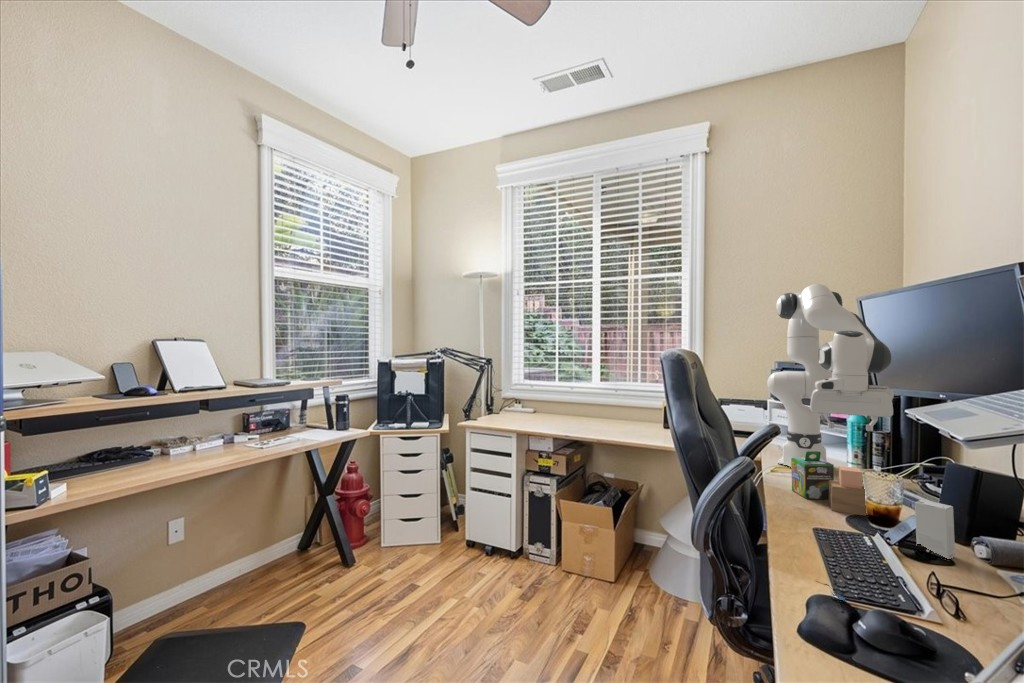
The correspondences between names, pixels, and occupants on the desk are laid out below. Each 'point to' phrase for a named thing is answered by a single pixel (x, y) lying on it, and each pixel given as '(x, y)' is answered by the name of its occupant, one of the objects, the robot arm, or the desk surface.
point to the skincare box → (935, 527)
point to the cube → (850, 477)
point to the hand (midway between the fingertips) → (849, 429)
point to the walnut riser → (847, 499)
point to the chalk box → (811, 476)
